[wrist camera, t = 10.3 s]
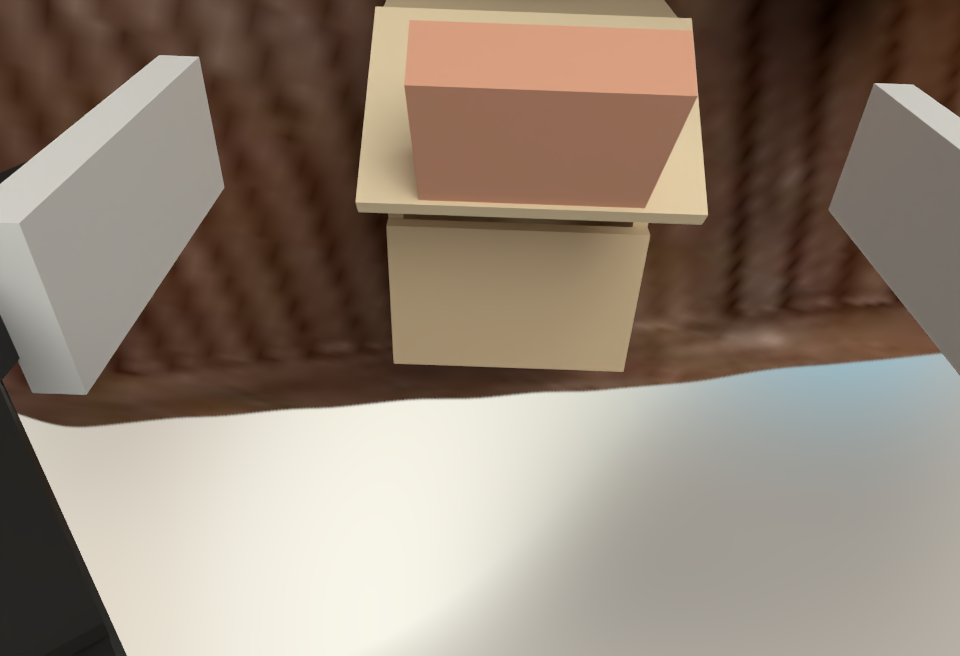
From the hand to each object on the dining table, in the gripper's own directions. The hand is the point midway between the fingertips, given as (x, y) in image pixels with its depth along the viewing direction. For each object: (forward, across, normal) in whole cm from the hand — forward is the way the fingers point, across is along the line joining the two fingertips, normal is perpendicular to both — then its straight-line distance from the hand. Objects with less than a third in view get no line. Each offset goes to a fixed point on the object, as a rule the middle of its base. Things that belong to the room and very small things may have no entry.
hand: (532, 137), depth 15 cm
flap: (+16, +1, -6) cm, 17 cm away
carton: (+31, +1, -13) cm, 33 cm away
